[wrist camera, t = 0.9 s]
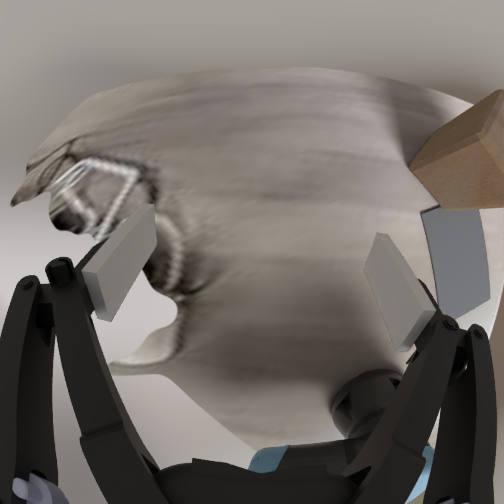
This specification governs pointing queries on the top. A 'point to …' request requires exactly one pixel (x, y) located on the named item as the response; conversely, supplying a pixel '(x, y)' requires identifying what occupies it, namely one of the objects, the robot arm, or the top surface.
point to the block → (466, 158)
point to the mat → (457, 259)
